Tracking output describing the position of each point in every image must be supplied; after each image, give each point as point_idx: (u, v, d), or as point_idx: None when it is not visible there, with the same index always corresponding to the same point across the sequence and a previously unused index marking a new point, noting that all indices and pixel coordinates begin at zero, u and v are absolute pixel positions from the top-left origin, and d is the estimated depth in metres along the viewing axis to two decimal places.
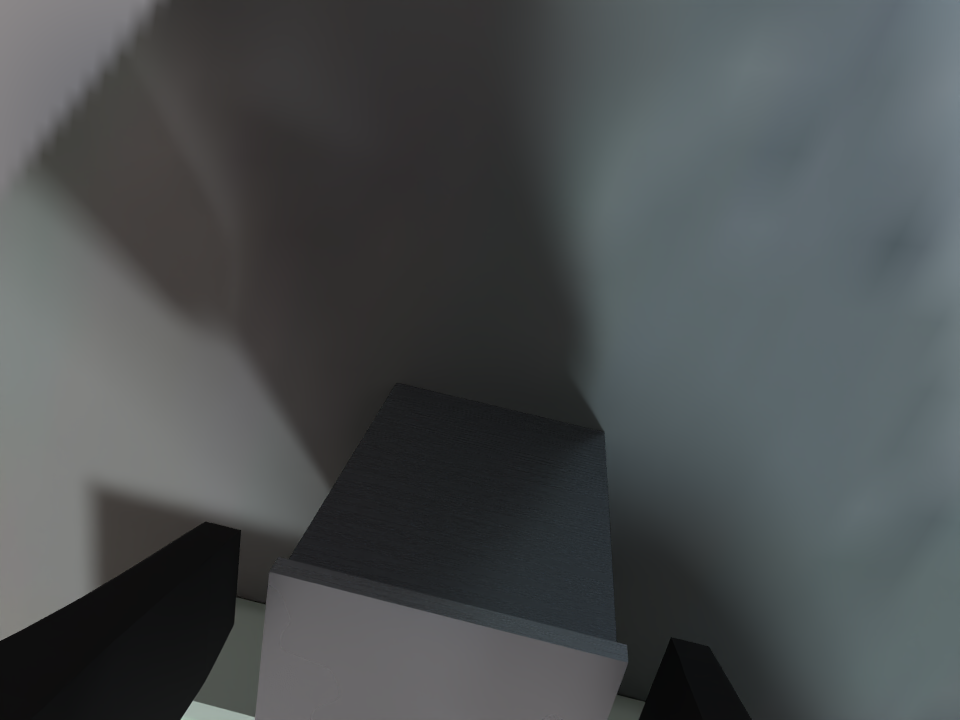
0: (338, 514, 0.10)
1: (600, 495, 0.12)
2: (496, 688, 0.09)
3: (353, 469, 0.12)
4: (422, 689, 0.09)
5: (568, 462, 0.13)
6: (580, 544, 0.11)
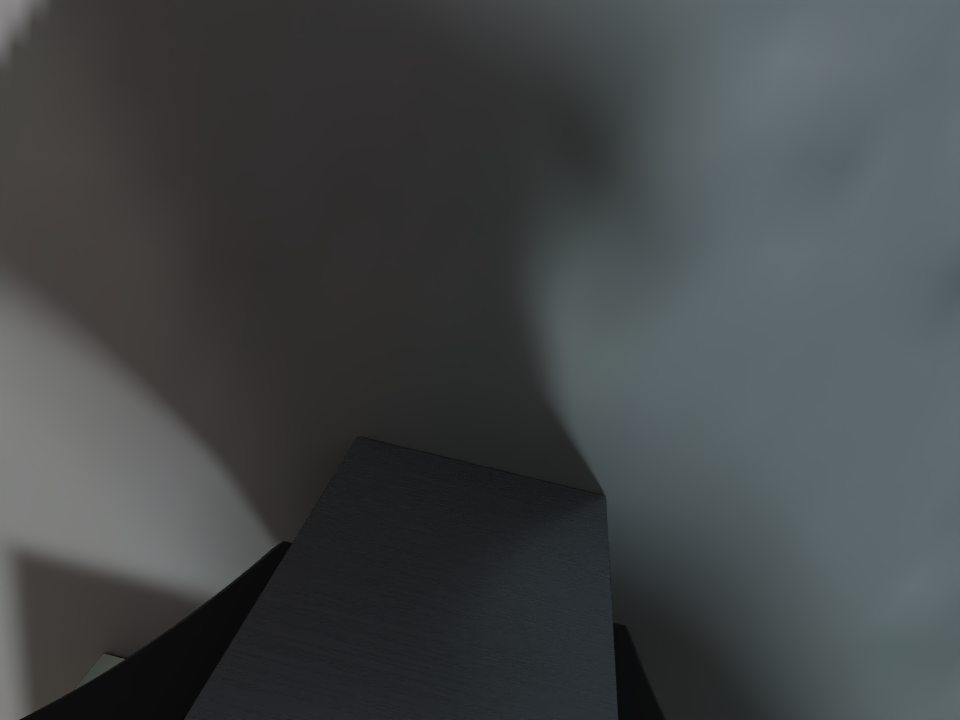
0: (261, 640, 0.08)
1: (601, 591, 0.10)
2: None
3: (290, 567, 0.09)
4: None
5: (562, 543, 0.11)
6: (575, 671, 0.08)
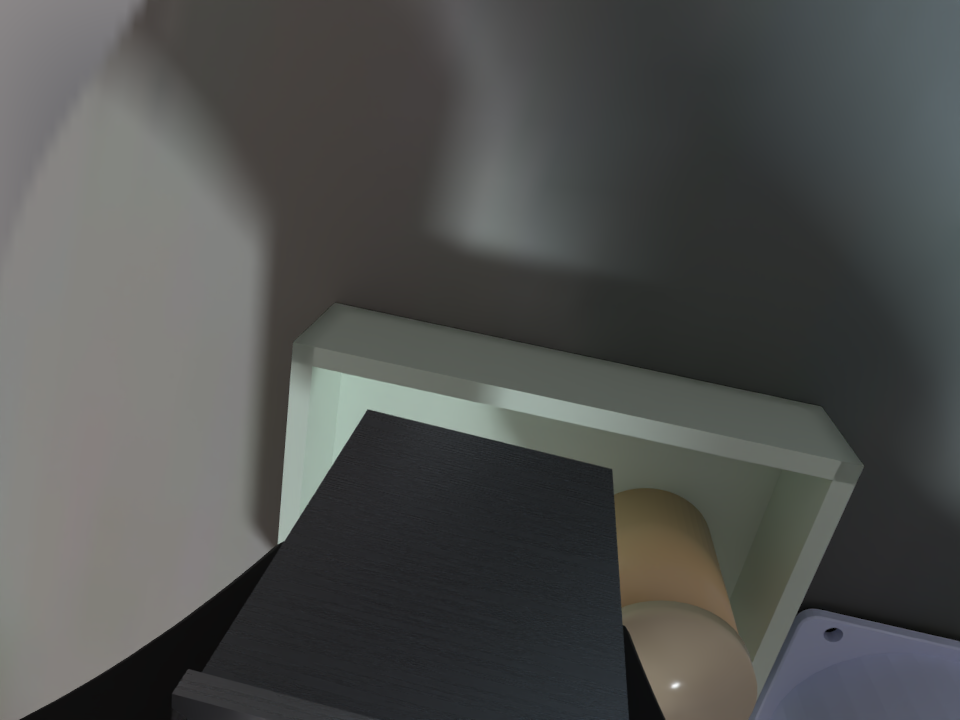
0: (277, 597, 0.08)
1: (608, 557, 0.10)
2: None
3: (303, 530, 0.09)
4: None
5: (569, 512, 0.11)
6: (584, 631, 0.09)
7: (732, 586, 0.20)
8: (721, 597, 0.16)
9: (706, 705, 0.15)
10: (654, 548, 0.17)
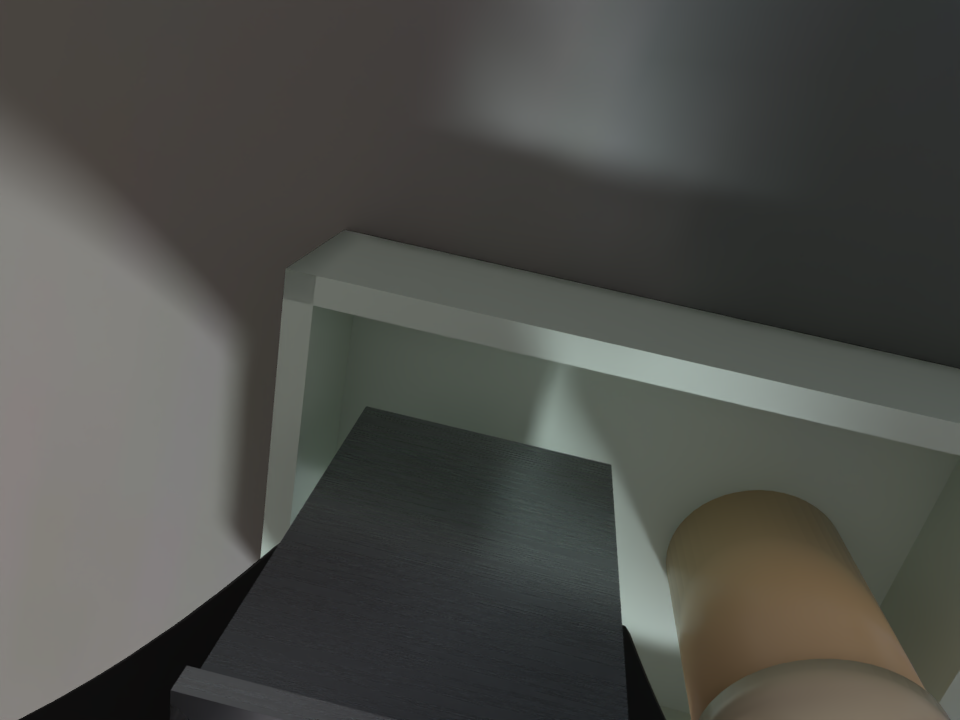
0: (276, 594, 0.08)
1: (607, 553, 0.10)
2: None
3: (302, 527, 0.09)
4: None
5: (568, 508, 0.11)
6: (584, 626, 0.09)
7: None
8: (902, 650, 0.11)
9: None
10: (796, 575, 0.12)
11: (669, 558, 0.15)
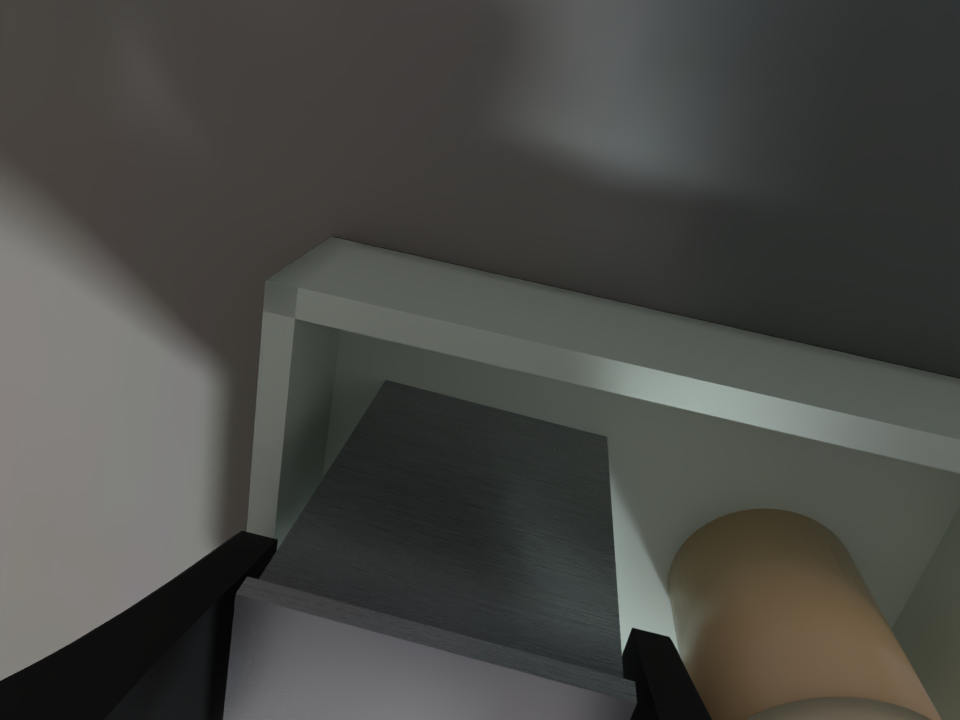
0: (316, 527, 0.09)
1: (603, 507, 0.11)
2: None
3: (335, 475, 0.11)
4: None
5: (568, 470, 0.12)
6: (582, 563, 0.10)
7: None
8: (920, 684, 0.11)
9: None
10: (806, 603, 0.11)
11: (671, 579, 0.14)
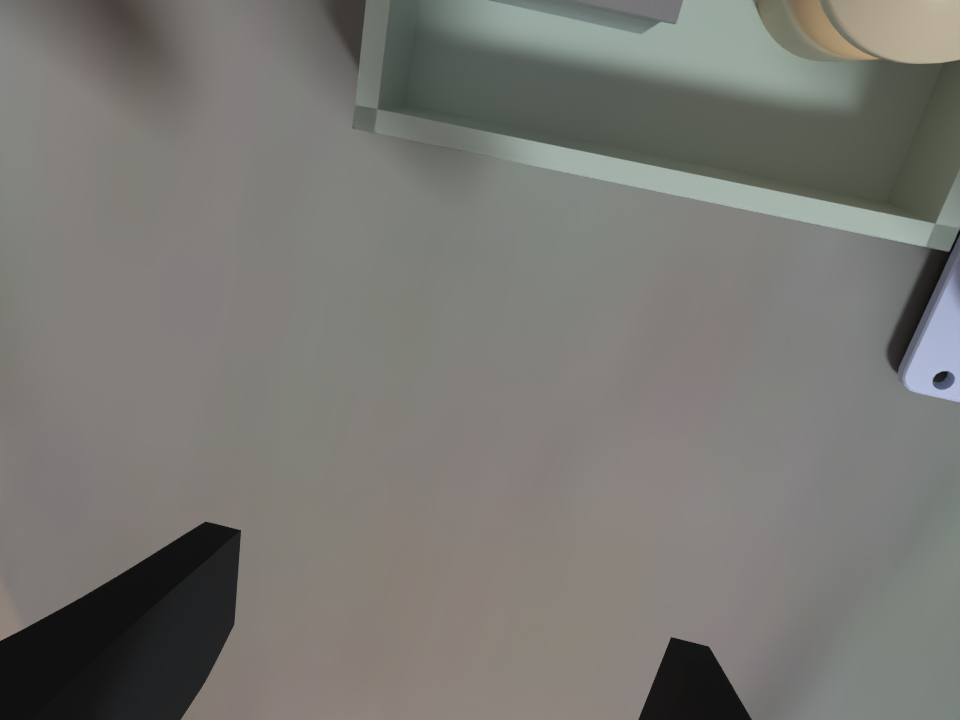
0: None
1: None
2: None
3: None
4: None
5: None
6: None
7: None
8: None
9: None
10: None
11: None
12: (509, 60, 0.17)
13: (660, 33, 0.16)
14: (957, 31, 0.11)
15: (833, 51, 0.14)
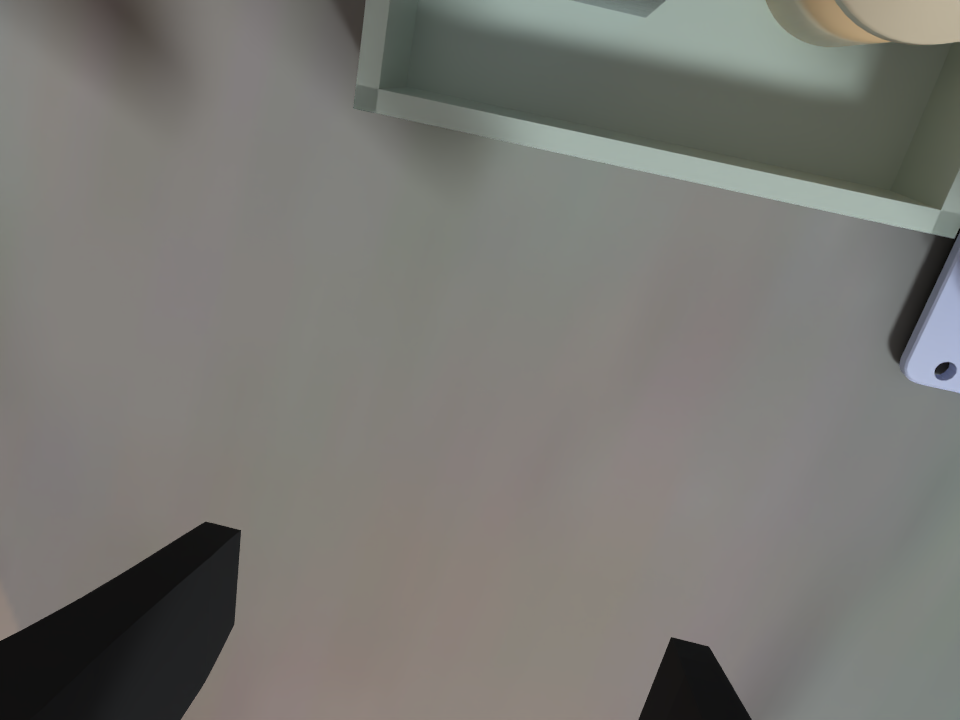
0: None
1: None
2: None
3: None
4: None
5: None
6: None
7: None
8: None
9: None
10: None
11: None
12: (512, 43, 0.17)
13: (665, 17, 0.16)
14: None
15: (838, 34, 0.14)
